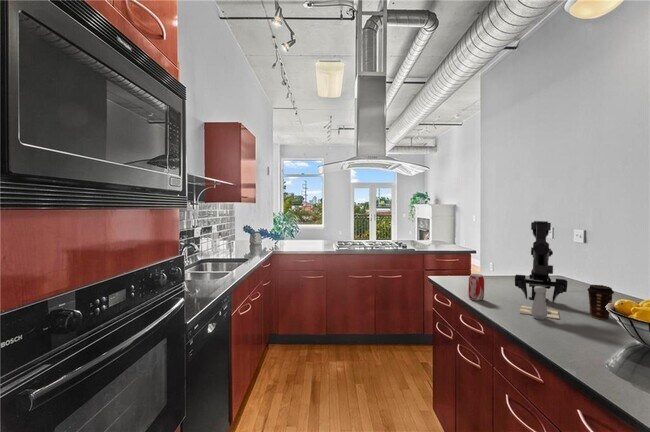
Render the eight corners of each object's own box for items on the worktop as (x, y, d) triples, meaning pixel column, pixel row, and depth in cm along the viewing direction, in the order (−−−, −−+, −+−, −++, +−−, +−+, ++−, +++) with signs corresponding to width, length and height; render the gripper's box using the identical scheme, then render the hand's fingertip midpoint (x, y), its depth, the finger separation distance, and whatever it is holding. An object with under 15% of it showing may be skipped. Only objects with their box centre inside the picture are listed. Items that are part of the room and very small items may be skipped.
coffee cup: (608, 315, 148) (609, 285, 148) (617, 321, 140) (618, 289, 140) (583, 313, 151) (584, 283, 151) (591, 319, 143) (592, 287, 143)
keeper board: (521, 305, 162) (521, 304, 162) (557, 310, 154) (557, 309, 154) (519, 313, 150) (519, 312, 150) (559, 319, 142) (559, 318, 142)
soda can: (485, 301, 167) (486, 276, 167) (469, 300, 169) (470, 276, 168) (481, 298, 174) (482, 274, 174) (466, 297, 176) (467, 273, 175)
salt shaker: (527, 315, 147) (528, 285, 146) (540, 315, 147) (541, 284, 147) (537, 320, 141) (538, 288, 140) (550, 320, 141) (551, 288, 141)
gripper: (515, 255, 152) (513, 285, 143) (568, 259, 142) (569, 292, 133) (516, 271, 159) (513, 300, 150) (566, 276, 149) (566, 308, 140)
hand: (539, 300), depth 143 cm, fingers open, 9 cm apart
